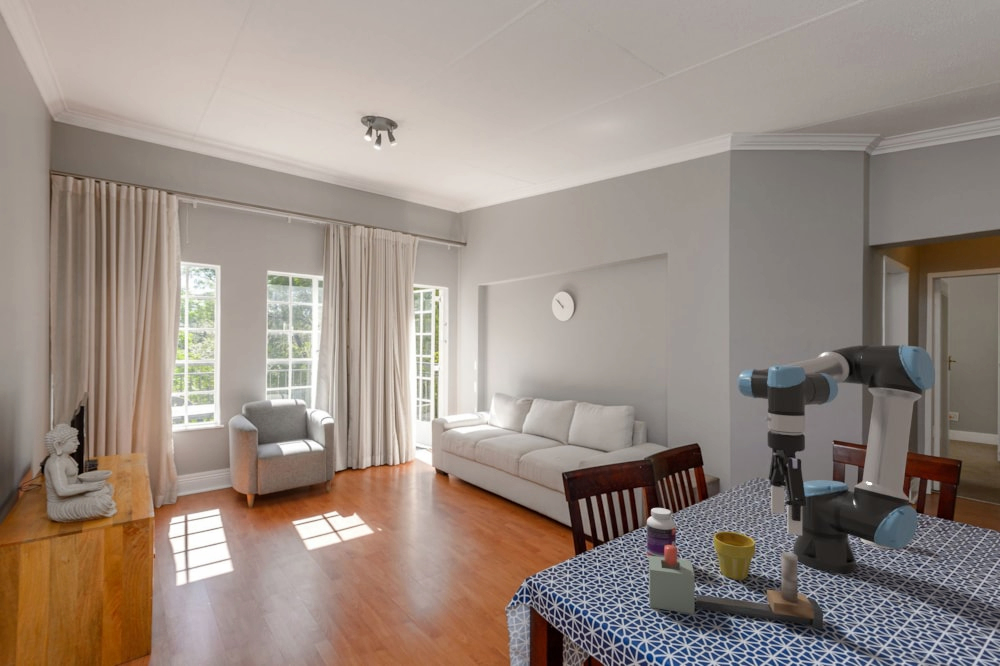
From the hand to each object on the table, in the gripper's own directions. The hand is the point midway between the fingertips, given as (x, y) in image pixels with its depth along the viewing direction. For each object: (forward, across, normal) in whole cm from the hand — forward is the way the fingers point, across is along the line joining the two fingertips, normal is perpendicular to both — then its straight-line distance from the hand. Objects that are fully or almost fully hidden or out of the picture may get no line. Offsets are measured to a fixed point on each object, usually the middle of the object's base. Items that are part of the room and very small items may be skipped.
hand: (785, 523), depth 113 cm
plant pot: (+22, -20, -8) cm, 30 cm away
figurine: (+22, -56, +41) cm, 73 cm away
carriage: (+19, 0, +1) cm, 20 cm away
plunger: (+13, +1, -25) cm, 28 cm away
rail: (+22, 0, -7) cm, 23 cm away
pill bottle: (+22, -22, -27) cm, 41 cm away
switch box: (+22, +1, -25) cm, 33 cm away
